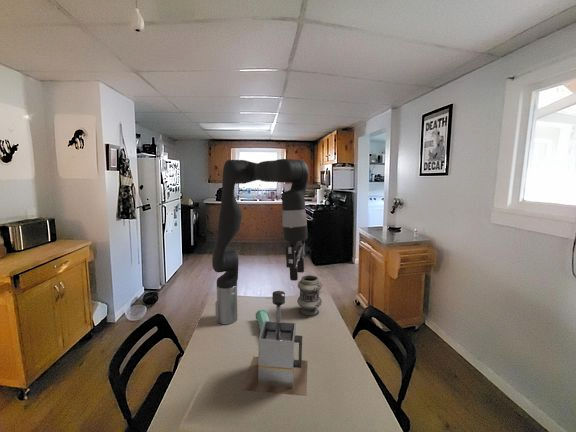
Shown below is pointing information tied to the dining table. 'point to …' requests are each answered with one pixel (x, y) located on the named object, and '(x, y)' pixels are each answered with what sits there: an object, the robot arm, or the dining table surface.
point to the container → (261, 317)
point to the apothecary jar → (309, 295)
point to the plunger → (278, 318)
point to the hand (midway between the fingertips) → (297, 276)
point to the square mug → (278, 356)
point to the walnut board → (297, 389)
